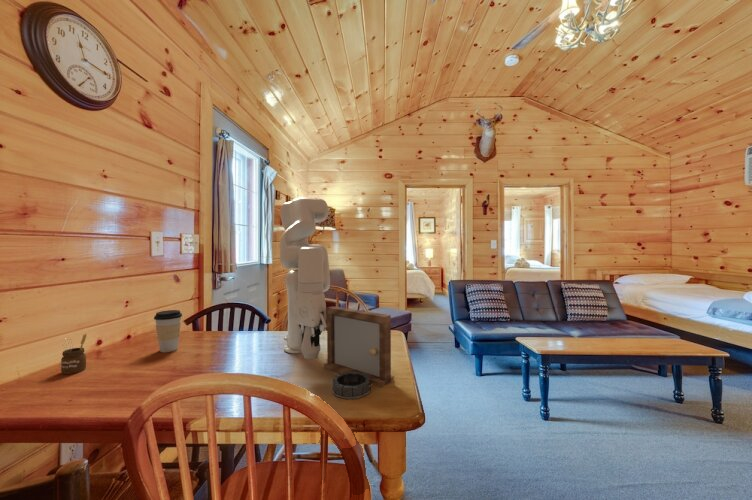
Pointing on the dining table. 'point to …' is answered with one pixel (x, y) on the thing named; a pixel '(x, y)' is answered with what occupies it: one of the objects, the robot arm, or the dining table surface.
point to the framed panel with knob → (383, 343)
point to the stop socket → (351, 385)
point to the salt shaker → (309, 345)
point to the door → (357, 344)
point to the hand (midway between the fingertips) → (310, 346)
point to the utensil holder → (73, 359)
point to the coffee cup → (168, 329)
